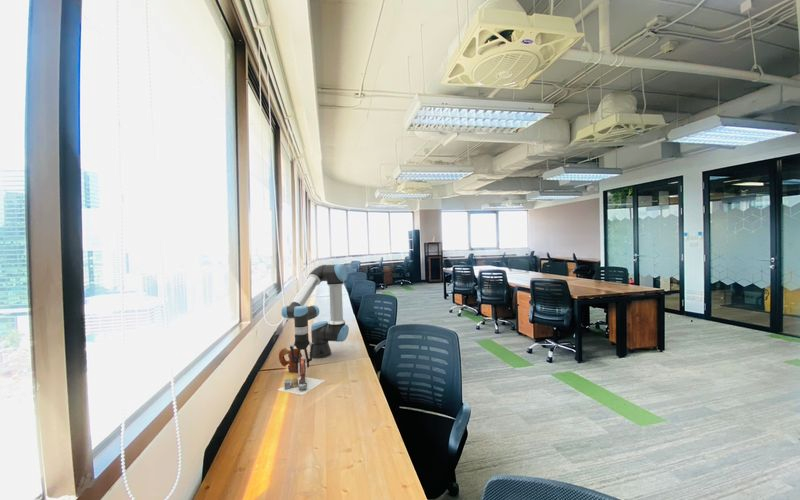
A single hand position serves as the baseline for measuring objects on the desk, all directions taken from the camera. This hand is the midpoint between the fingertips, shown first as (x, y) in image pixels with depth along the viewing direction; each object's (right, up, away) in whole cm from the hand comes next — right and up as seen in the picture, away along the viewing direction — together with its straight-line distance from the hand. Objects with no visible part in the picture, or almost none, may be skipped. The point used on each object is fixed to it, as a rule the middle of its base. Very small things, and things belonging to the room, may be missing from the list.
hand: (302, 373), depth 186 cm
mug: (-11, -5, +14) cm, 19 cm away
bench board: (+2, -5, -7) cm, 9 cm away
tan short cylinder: (-2, -4, -9) cm, 10 cm away
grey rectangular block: (-5, -4, -10) cm, 12 cm away
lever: (+2, -3, -7) cm, 8 cm away
